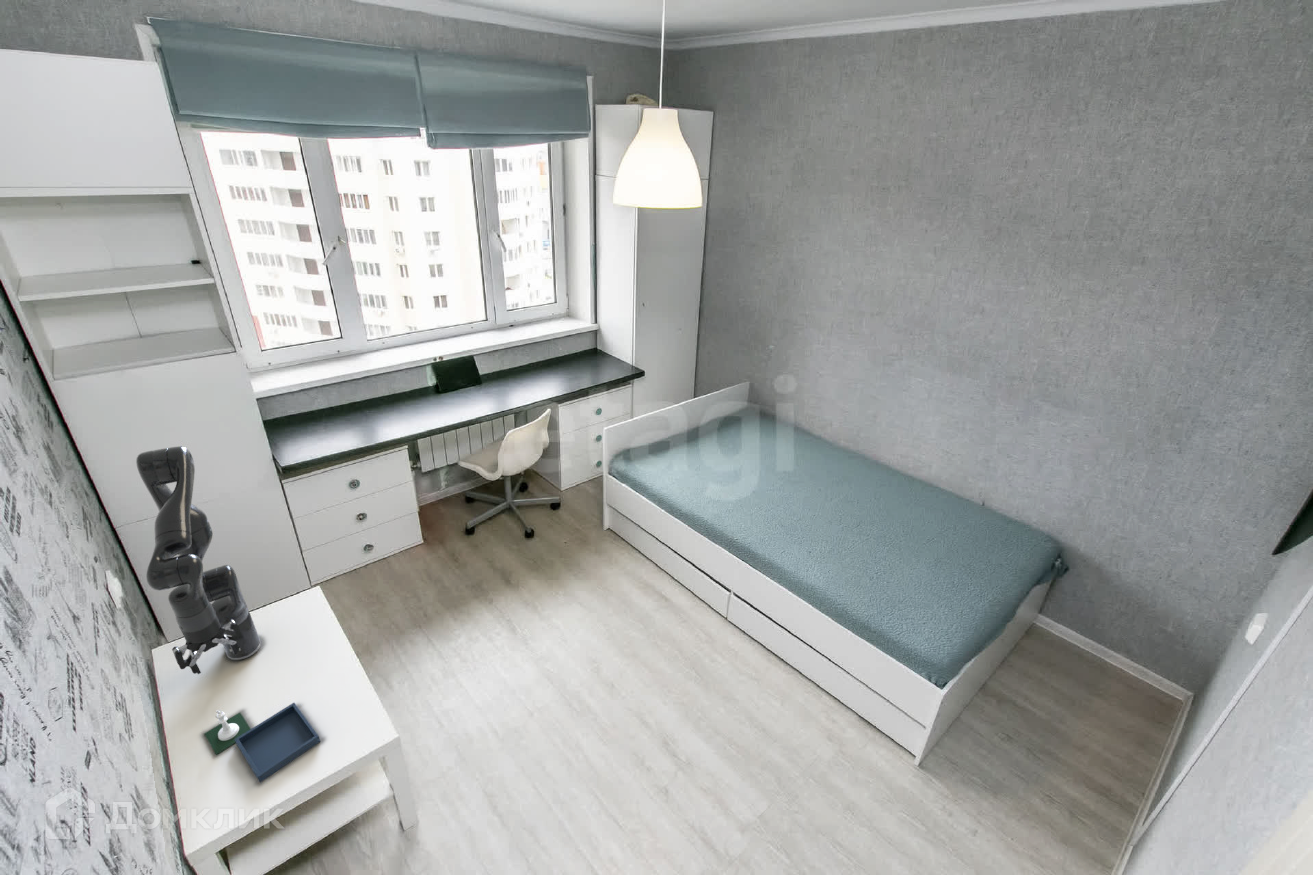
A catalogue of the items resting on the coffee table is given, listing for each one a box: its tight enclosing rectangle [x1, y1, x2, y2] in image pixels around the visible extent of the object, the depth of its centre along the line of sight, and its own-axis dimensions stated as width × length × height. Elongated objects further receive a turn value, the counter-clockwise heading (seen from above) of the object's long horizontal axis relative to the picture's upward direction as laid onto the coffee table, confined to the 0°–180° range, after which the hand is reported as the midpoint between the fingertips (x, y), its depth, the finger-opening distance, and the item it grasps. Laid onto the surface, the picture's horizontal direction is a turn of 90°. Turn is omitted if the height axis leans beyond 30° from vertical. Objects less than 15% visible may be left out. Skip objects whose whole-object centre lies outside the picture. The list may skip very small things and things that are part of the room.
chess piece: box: [215, 709, 239, 741], centre depth 164 cm, size 5×5×10 cm
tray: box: [234, 702, 321, 783], centre depth 165 cm, size 16×16×2 cm
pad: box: [203, 712, 251, 756], centre depth 167 cm, size 9×9×1 cm
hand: (216, 661), depth 158 cm, fingers open, 8 cm apart
